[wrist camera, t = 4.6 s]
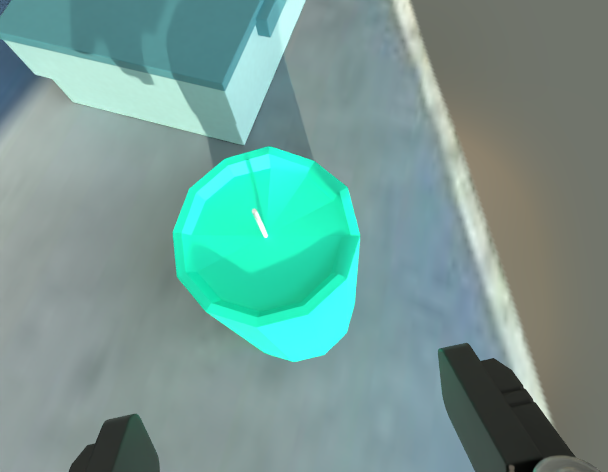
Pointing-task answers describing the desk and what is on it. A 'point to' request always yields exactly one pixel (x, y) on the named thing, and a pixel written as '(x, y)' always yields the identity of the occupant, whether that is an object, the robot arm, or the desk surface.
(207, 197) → the candle
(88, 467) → the robot arm
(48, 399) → the desk surface
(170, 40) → the food tub
